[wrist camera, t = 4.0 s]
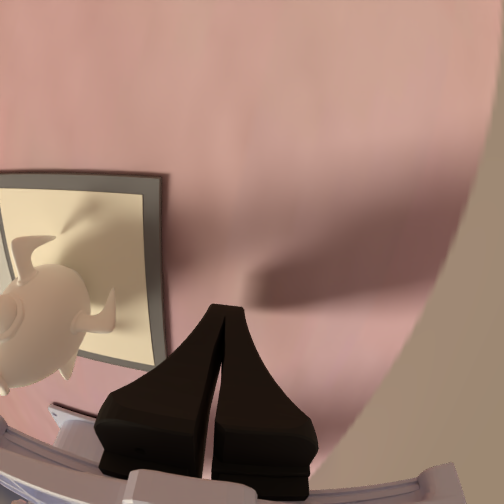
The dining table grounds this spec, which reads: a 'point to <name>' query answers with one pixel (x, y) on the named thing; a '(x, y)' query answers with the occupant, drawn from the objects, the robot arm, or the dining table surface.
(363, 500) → the robot arm
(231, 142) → the dining table surface
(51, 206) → the game mat
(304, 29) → the dining table surface
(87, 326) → the rocket toy
